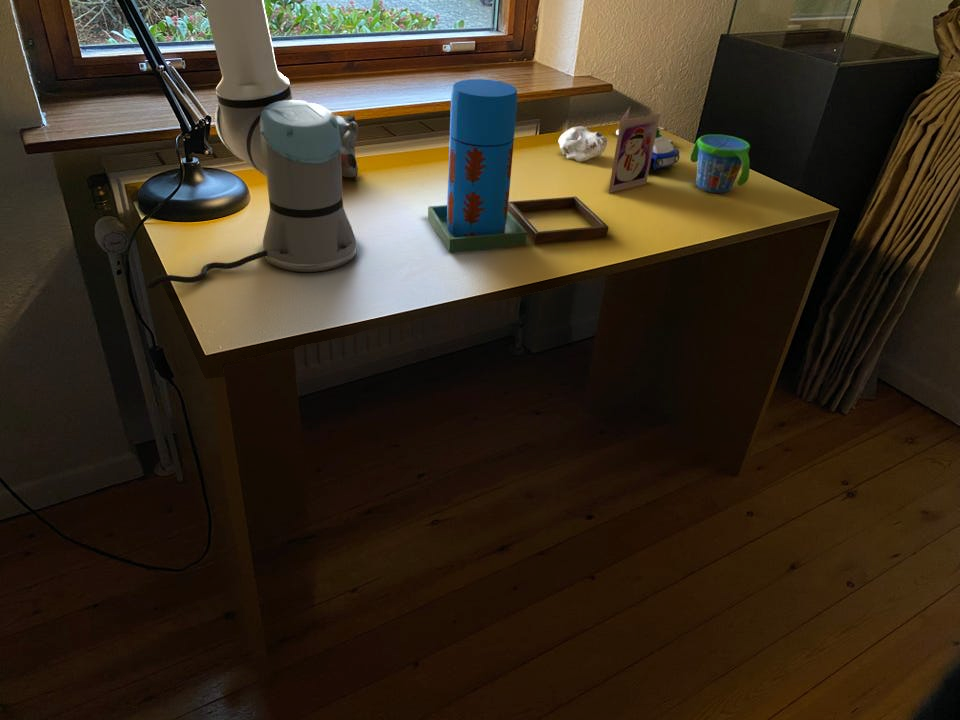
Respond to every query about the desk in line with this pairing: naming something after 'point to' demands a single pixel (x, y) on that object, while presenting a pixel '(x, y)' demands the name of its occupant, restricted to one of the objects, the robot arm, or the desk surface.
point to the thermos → (480, 156)
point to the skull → (582, 143)
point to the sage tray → (509, 238)
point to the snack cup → (720, 162)
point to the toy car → (663, 152)
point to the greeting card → (633, 151)
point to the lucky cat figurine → (348, 145)
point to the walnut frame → (564, 235)
